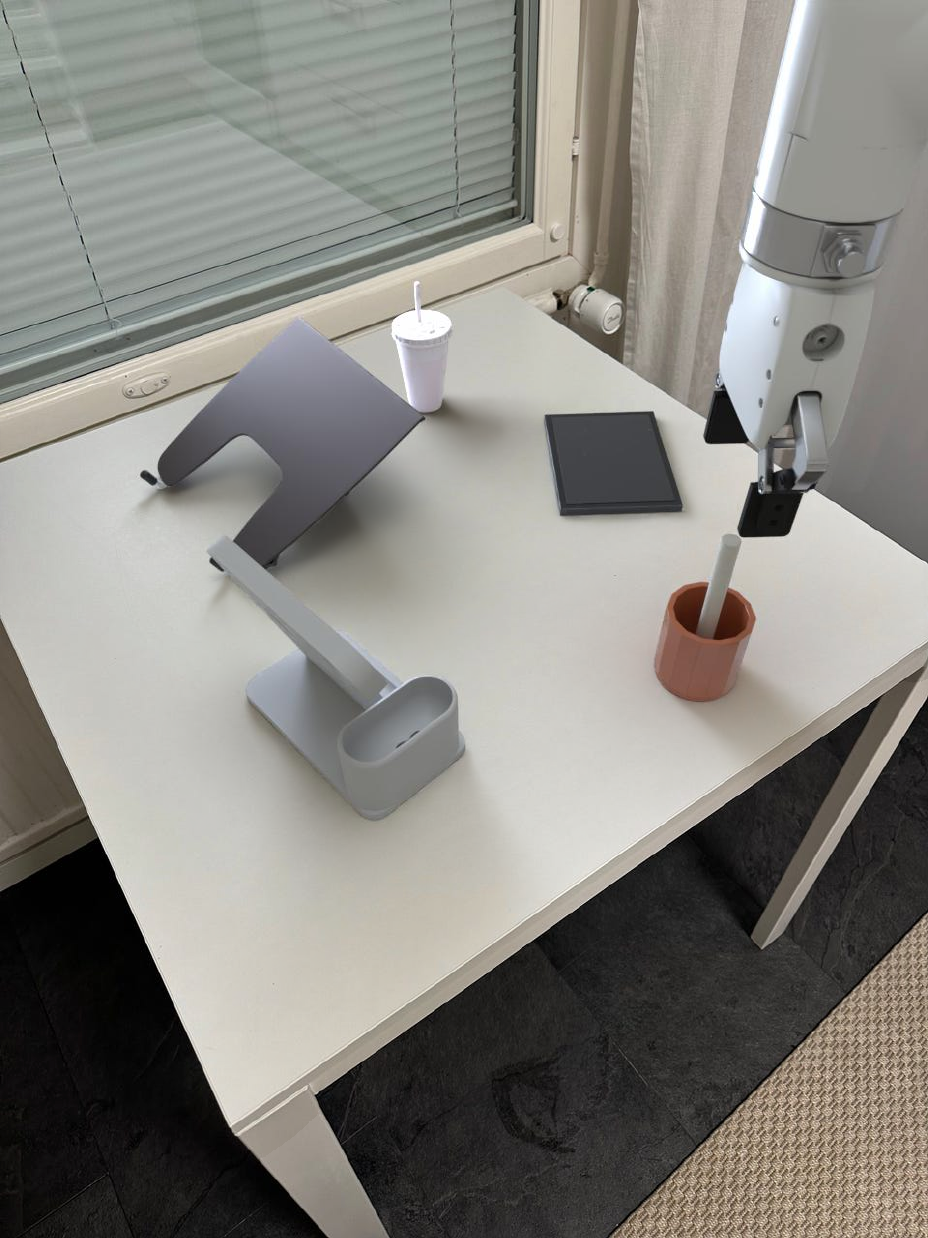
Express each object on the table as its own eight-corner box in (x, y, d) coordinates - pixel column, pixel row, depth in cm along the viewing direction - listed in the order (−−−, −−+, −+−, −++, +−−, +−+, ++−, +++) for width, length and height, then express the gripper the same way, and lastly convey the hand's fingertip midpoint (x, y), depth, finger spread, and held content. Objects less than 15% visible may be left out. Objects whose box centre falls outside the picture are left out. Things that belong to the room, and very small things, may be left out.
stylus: (702, 659, 74) (738, 532, 64) (706, 672, 73) (743, 545, 63) (685, 660, 74) (719, 533, 64) (689, 673, 73) (723, 546, 63)
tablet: (652, 416, 98) (653, 410, 98) (681, 511, 87) (683, 504, 87) (544, 420, 98) (544, 413, 97) (559, 515, 87) (560, 508, 86)
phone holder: (475, 750, 68) (475, 585, 55) (373, 832, 64) (347, 672, 51) (336, 629, 77) (308, 461, 64) (238, 693, 72) (185, 526, 59)
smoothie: (433, 381, 103) (428, 264, 93) (465, 406, 100) (463, 288, 90) (386, 399, 101) (376, 281, 91) (417, 426, 97) (410, 306, 87)
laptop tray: (182, 504, 98) (124, 457, 90) (331, 359, 99) (287, 300, 91) (284, 627, 85) (227, 585, 78) (455, 460, 86) (415, 402, 78)
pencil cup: (724, 638, 76) (742, 579, 71) (744, 701, 71) (765, 643, 66) (647, 640, 76) (660, 582, 71) (662, 704, 71) (677, 646, 66)
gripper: (954, 309, 41) (839, 574, 54) (835, 164, 53) (764, 409, 65) (793, 312, 41) (716, 577, 54) (709, 166, 53) (662, 411, 65)
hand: (742, 485), depth 59 cm, fingers open, 9 cm apart
